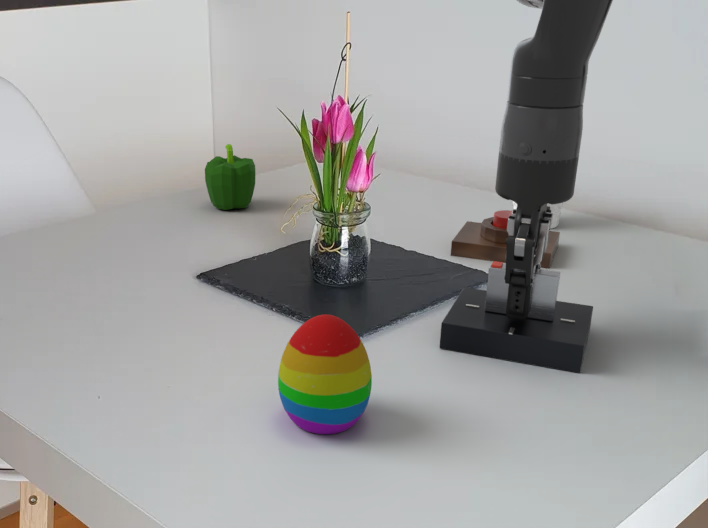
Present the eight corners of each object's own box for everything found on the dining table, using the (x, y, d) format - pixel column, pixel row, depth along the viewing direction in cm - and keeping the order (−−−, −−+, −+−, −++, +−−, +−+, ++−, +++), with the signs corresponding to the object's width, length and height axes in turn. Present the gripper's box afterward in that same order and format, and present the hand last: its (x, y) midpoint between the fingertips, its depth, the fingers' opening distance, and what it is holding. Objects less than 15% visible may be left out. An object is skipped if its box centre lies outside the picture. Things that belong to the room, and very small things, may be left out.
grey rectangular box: (554, 316, 88) (560, 269, 86) (552, 321, 87) (559, 274, 85) (487, 305, 91) (491, 260, 89) (484, 311, 89) (489, 265, 87)
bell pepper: (249, 215, 134) (248, 153, 130) (200, 212, 135) (198, 151, 132) (261, 201, 141) (261, 142, 137) (214, 198, 143) (213, 140, 139)
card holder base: (589, 330, 92) (593, 304, 91) (579, 373, 82) (584, 344, 81) (461, 310, 97) (464, 285, 96) (439, 348, 88) (441, 321, 87)
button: (524, 224, 116) (526, 212, 115) (520, 232, 113) (521, 219, 112) (495, 220, 118) (496, 208, 117) (490, 228, 114) (491, 216, 114)
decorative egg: (388, 419, 75) (394, 316, 71) (326, 454, 69) (329, 346, 66) (321, 388, 80) (323, 291, 76) (259, 418, 75) (258, 316, 71)
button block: (558, 246, 118) (561, 219, 117) (549, 269, 110) (552, 240, 108) (465, 235, 123) (468, 209, 122) (450, 256, 115) (452, 228, 113)
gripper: (571, 168, 75) (547, 343, 81) (585, 138, 86) (563, 293, 93) (486, 160, 78) (470, 330, 84) (511, 133, 89) (495, 283, 96)
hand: (519, 310), depth 89 cm, fingers open, 3 cm apart
